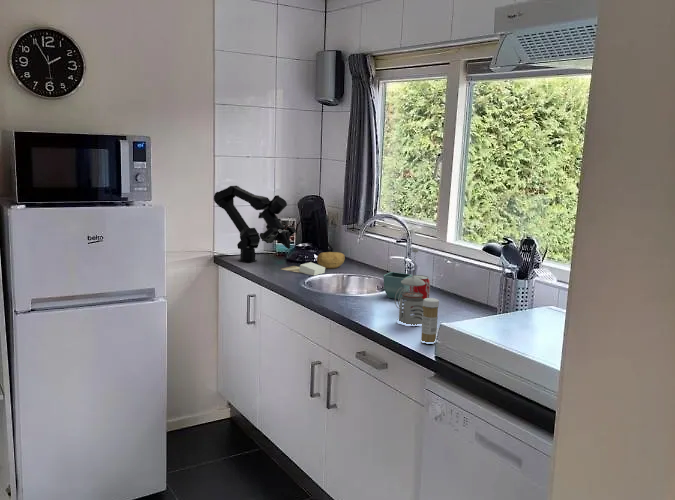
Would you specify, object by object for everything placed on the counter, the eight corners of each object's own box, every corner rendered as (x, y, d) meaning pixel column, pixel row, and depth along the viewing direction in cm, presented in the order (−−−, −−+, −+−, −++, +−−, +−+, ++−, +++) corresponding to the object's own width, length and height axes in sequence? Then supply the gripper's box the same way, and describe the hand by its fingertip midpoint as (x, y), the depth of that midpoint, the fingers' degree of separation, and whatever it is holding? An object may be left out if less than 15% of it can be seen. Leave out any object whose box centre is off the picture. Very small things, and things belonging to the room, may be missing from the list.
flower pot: (389, 293, 246) (391, 271, 244) (411, 297, 242) (412, 274, 240) (381, 298, 238) (382, 275, 236) (403, 301, 234) (404, 278, 232)
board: (279, 270, 278) (279, 269, 278) (293, 267, 287) (293, 265, 286) (303, 275, 271) (303, 273, 271) (316, 271, 280) (316, 270, 280)
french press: (431, 324, 206) (437, 249, 202) (404, 329, 199) (410, 252, 195) (411, 317, 214) (416, 245, 209) (385, 321, 207) (389, 247, 203)
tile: (300, 264, 272) (314, 270, 268) (310, 262, 278) (325, 267, 274) (298, 271, 273) (313, 277, 269) (309, 268, 279) (324, 274, 275)
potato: (349, 269, 287) (350, 252, 286) (323, 272, 280) (324, 254, 278) (337, 265, 295) (338, 249, 294) (312, 268, 288) (312, 250, 286)
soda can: (423, 313, 219) (425, 279, 217) (405, 309, 223) (407, 276, 221) (431, 309, 225) (433, 276, 223) (413, 305, 229) (415, 273, 227)
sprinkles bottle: (431, 340, 189) (434, 297, 187) (438, 345, 185) (442, 300, 183) (417, 341, 188) (420, 297, 186) (424, 346, 184) (428, 301, 181)
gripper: (272, 230, 295) (289, 257, 291) (248, 231, 279) (265, 259, 275) (288, 216, 291) (305, 243, 287) (264, 216, 275) (281, 244, 270)
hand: (289, 248), depth 280 cm, fingers closed
